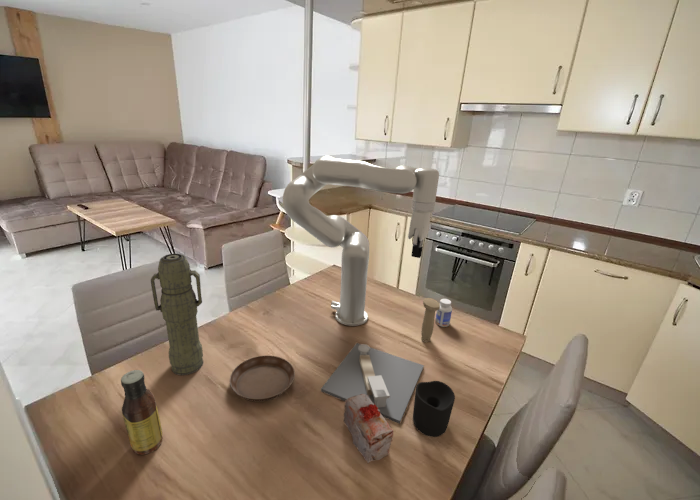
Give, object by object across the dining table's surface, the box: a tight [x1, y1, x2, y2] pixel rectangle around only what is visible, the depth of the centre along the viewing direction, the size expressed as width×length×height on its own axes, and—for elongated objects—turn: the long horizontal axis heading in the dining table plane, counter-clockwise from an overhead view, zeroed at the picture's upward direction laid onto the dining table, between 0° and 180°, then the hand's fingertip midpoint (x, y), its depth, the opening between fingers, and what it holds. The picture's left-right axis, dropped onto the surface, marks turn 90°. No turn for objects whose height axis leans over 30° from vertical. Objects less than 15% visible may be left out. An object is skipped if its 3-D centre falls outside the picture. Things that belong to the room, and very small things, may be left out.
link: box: [359, 355, 375, 395], centre depth 100 cm, size 15×3×2 cm, turn 8°
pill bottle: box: [434, 298, 453, 328], centre depth 130 cm, size 5×5×10 cm
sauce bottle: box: [120, 369, 164, 456], centre depth 74 cm, size 6×6×20 cm
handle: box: [420, 297, 440, 343], centre depth 119 cm, size 5×6×15 cm
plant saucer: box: [229, 354, 296, 403], centre depth 97 cm, size 18×18×3 cm
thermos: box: [150, 253, 204, 376], centre depth 96 cm, size 9×12×35 cm
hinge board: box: [320, 342, 425, 425], centre depth 101 cm, size 23×24×5 cm
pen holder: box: [412, 380, 456, 438], centre depth 86 cm, size 9×9×10 cm
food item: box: [343, 394, 394, 464], centre depth 80 cm, size 14×8×10 cm, turn 29°
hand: (416, 256), depth 122 cm, fingers closed
